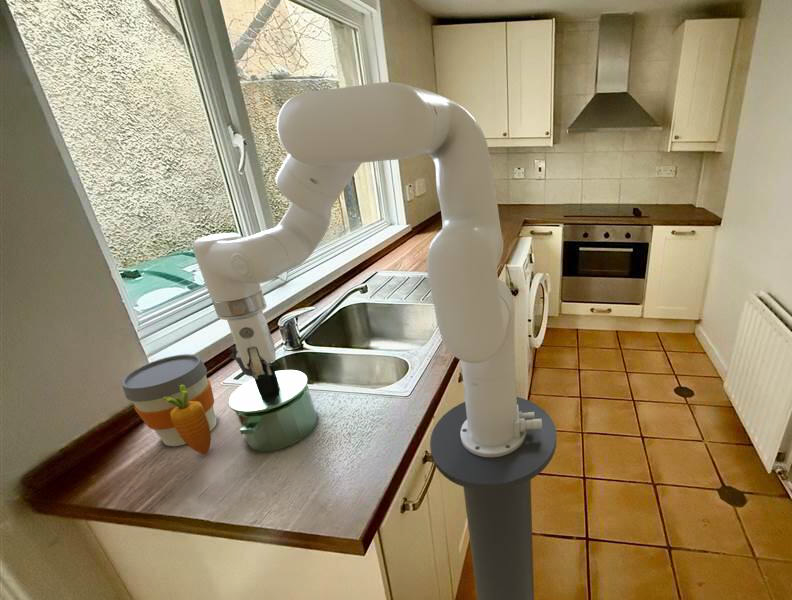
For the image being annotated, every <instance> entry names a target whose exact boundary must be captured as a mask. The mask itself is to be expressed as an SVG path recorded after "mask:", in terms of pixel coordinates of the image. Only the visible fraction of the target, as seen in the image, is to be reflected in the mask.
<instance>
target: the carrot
mask: <svg viewBox="0 0 792 600" xmlns="http://www.w3.org/2000/svg"><path fill="white" fill-rule="evenodd" d="M179 388H180V392H181V400H180V399H179V398H176V400H177V401H176V400H175V399H173V398H170V397H164V398H163V399H164V400H167V402H169V403H172V404H174V405H175V406H177V407H175V408H174V409H173V410H172V411H171V412H170V415H171V420H172V422H173V424H174V426H175V428H176V430H177V432H178V433H179V435H180V437H181V438H182V439H183V440H184V442H185V443H186V444H185V445H187V446H188V447H189V448H190V449H192V450H193V451H195V452H197V453H199V454H201V455H207V454H208V452H209V451H210V447H211V442H212V436H211V435H212V434H211V431H210V428H209V424H208V421H207V418H206V415H205V412H204V409H203V407H202V404H201V403H200V402H198V401H188V392H187V389H186V386H185V385H180V386H179Z"/></svg>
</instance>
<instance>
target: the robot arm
mask: <svg viewBox="0 0 792 600" xmlns="http://www.w3.org/2000/svg"><path fill="white" fill-rule="evenodd" d="M276 120H277V121H276V131H277V135H278V139H279V142H280V143H281V146H282V147H283V149H284V150H285V151H286V153H287V154H288V155H287V156H286V158H285V160H284V161H283V163H282V165H281V166H280V168H279V170H278V171H277V173H276V175H275V184H276V187H277V189H278V190H279V192H280V193H281V194H282V196H284V198H286V200H288V201H289V202H290V205H289V207H288V208H287V210H286V212H285V213H284V215H283V217H282V219H280V221H279V223H277V225H276V226H275V227H273V228H269V229H266V230H262V231H260V232H257V233H254V234H251V235H248V236H246V237H244V236H242V235H241V234H239V233H235V232H223V233H214V234H210V235H204V236H201V237H200V238H197V239H195V240H194V241H193V243H192V251H193V254H194V257H195V259H196V260H195V261H196V262H197V265H198V267H199V270H200V274H201V276H202V278H203V281H204V284H205V286H206V290H207V292H208V294H209V297H210V300H211V303H212V305H213V308H214V311H215V313H216V315H217V318H218V319H219V320H224V321H227V324H228V326H229V329H230V333H231V335H232V338H233V341H234V344H235V348H236V347H237V350H238V352H239V355H240V357H241V360H242V362H243V365H244V367H245V368H247V369H250V366H251V369H252V372H253V375H254V378H253V379H254V380H255V383H256V385H257V388H258V391H259V394H260V396H264V395H267V394H270V393H274V392H277V391H278V390H279V388H278V385H277V383H278V379H277V376H276V373H275V372H276V370H275V367H274V365H273V364H272V363H275V361H276V347H275V346H276V345H275V342H274V339H273V336H272V334H271V331H270V327H269V325H268V322H267V319H266V317H265V314H264V312H263V311H265V310H266V308H267V302H266V299H265V296H264V292H263V290H262V286H261V284H263V283H266V282H267V283H268V282H269V281H271V280H273V279H275V278H277V277H279V276H281V275H282V274H284V273H286V272H288V271H289V270H292V269H294V268H296V267H298V266H300V265H302V264H304V262H306V261H307V260H308V259H309V258H310V257H311V255H312V254H313V253H314V251H315V250H316V248H317V247H318V246H319V245H320V243H321V242H322V240H323V239H324V238H325V235H326V233H327V232H328V230H329V226H330V223H331V218H332V208H333V206H334V205H335V204H336V202H337V200H338V199H339V197H340V196H341V195H342V193H343V191H344V190H345V188H346V187H347V185H348V184H349V182H350V181H351V180H352V178H353V177H354V175H355V174H356V172H357V171H358V169H360V167H361V165H362V164H365V163H366V164H367V163H373V162H385V161H396V160H397V161H398V160H405V159H406V160H408V159H413V158H418V157H424V156H429V157H430V158H431V160H432V161H433V163H434V168H435V186H436V187H435V188H436V193H437V199H438V202H439V206H440V207H439V208H440V212H441V213H440V214H441V223H442V227H441V229H440V230H439V231H438V232H437V233H436V234H435V236H434V237H433V238H432V240H431V242H430V244H429V247H428V249H427V255H426V271H427V278H428V283H429V288H430V293H431V298H432V303H433V308H434V311H435V312H434V313H435V316H436V321H437V327H438V331H439V335H440V338H441V340H442V342H443V344H444V346H445V348H446V349H447V351H448V352H449V353H450V354H451V355H452V356H454V357H455V358H456V359H457V360H460V365H461V375H462V376H461V377H462V385H463V394H464V395H463V396H464V402H465V404H466V414H467V420H466V421H465V422H464V424H463V425H462V428H461V433H460V435H461V441H462V444H463V445H464V447H465V448H466V449H467V450H468V451H469V452H471V453H473V454H475V455H478V456H482V457H500V456H504V455H507V454H509V453H511V452H513V451H514V450H516V449H517V448H518V447H519V446H521V444H522V443H523V441H524V439H525V437H526V430H528V429H533V430H540V429H542V420H541V419H535V417H534V412H528V413H522V412H519V407H518V404H517V397H518V396H517V378H516V376H517V375H516V347H515V346H516V345H515V325H516V324H515V323H516V322H515V321H516V317H515V315H516V311H515V310H516V309H515V308H516V306H515V300H514V296H513V294H512V291H511V289H510V288H509V286H508V285H507V284H506V283H505V282H504V281H503V280H501V279H500V278H499V276H498V275H499V274H498V266H499V264H500V262H501V259H502V256H503V253H504V238H503V234H502V228H501V220H500V214H499V205H498V198H497V191H496V186H495V180H494V179H495V178H494V172H493V165H492V159H491V154H490V149H489V145H488V143H487V140H486V136H485V134H484V132H483V129H482V128H481V126H480V125H479V123H478V121H477V120H476V119H475V117H474V116H473V115H472V113H470V112H469V111H468V110H467V109H466V108H464V107H463V106H462V105H460V104H459V103H458V102H455V101H454V100H452V99H449V98H447V97H445V96H443V95H440V94H438V93H436V92H433V91H431V90H430V91H429V90H427V89H424V88H421V87H416V86H412V85H410V84H406V83H401V82H394V81H386V82H385V81H384V82H374V83H368V84H367V83H366V84H359V85H353V86H345V87H338V88H330V89H329V88H328V89H322V90H321V89H320V90H313V91H306V92H300V93H298V94H295V95H293V96H292V97H291V98H289V99H288V100H287V101H285V103H284V104H283V105H282V107H281V108H280V110H279V112H278V115H277V119H276ZM263 365H265V366H266V368H265V367H262V366H263ZM525 419H528V420H525ZM530 419H532V420H530Z"/></svg>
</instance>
